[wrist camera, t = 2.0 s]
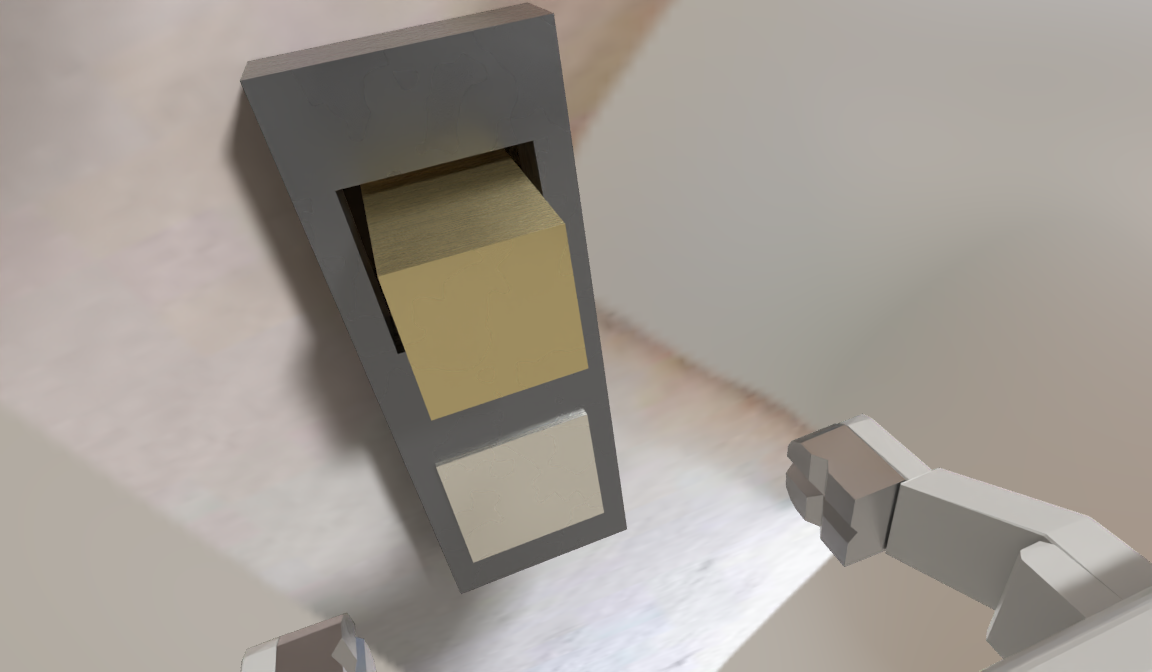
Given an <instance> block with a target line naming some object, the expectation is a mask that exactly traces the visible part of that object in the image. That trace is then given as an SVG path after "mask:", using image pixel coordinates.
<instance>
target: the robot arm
mask: <svg viewBox="0 0 1152 672" xmlns="http://www.w3.org/2000/svg"><path fill="white" fill-rule="evenodd" d="M787 457H788V458H789V459H790V460H791V461H792V462H793V464H792V465H791V466H790V468H789V469H788V471H787V472H786V488H787V491H788V494H789V497H790V500H791V501H792V503H793V505H794V506H795V508H796V510H797V511H798V512H799V514H800V515H801V516H802V517H803V519H804V520H805V521H808V522H810V523H813V524H815V525H818V526H820V539H821V540H822V541H823V542H824V544H825V545H826V546H827V547H828V548H829V550H830V551H831V552H832V553H833V554H834V555H835V557H836V558H837V559H838V560H839V561H840V563H841V564H842V565H843V566H844V567H846V566H848V565H851V564H853V563H856V562H858V561H861V560H863V559H866V558H868V557H871V556H873V555H876V554H878V553H881V552H883V551H886V552H885V553H886V554H888V555H890V556H892V557H894V558H895V559H897V560H899V561H901V562H903V563H905V564H907V565H909V566H911V567H913V568H914V569H916V570H918V571H920V572H922V573H924V574H926V575H928V576H930V577H932V578H934V579H936V580H938V581H940V582H941V583H944V584H945V585H947V586H949V587H951V588H953V589H955V590H957V591H959V592H961V593H963V594H965V595H967V596H968V597H970V598H972V599H974V600H976V601H978V602H980V603H982V604H984V605H986V606H988V607H990V608H992V609H993V610H995V613H994V615H993V618H992V620H991V623H990V625H989V627H988V630H987V638H986V641H987V642H988V643H989V644H990V645H991V646H992V647H993V648H994V649H995V651H996V652H998V654H999V655H1000V656H1001V657H1002V658H1003V660H1001V661H999V662H997V663H995V664H993V665H990V666H989V667H986V668H985V669H982V670H980V671H979V672H1152V563H1151V562H1150V561H1148V560H1147V559H1146V558H1144V557H1143V556H1142V555H1140V554H1139V553H1138V552H1136V551H1135V550H1134V549H1132V548H1131V547H1130V546H1128V545H1127V544H1126V543H1124V542H1123V541H1122V540H1120V539H1119V538H1118V537H1116V536H1115V535H1114V534H1112V533H1111V532H1110V531H1109V530H1107V529H1106V528H1104V527H1103V526H1102V525H1101V524H1099V523H1098V522H1097V521H1095V520H1094V519H1092V518H1091V517H1090V516H1087V515H1084V514H1081V513H1077V512H1075V511H1071V510H1068V509H1065V508H1062V507H1059V506H1056V505H1053V504H1050V503H1047V502H1044V501H1041V500H1037V499H1034V498H1031V497H1028V496H1025V495H1022V494H1019V493H1016V492H1013V491H1010V490H1007V489H1004V488H1001V487H998V486H994V485H991V484H988V483H985V482H982V481H979V480H976V479H973V478H970V477H966V476H964V475H961V474H957V473H954V472H951V471H948V470H945V469H942V468H936V469H934V470H931V469H930V468H929V467H928V466H927V465H926V464H924V463H923V462H922V461H921V460H920V459H919V458H917V457H916V456H915V455H914V454H913V453H912V452H911V451H909V450H908V449H907V448H906V447H905V446H903V445H902V444H901V443H900V442H899V441H898V440H897V439H895V438H894V437H893V436H892V435H891V434H890V433H888V432H887V431H886V430H885V429H884V428H882V427H881V426H880V425H879V424H878V423H877V422H876V421H874V420H873V419H872V418H871V417H869V416H867V415H864V414H861V415H858V416H855V417H853V418H850V419H848V420H845V421H843V422H840V423H838V424H833V425H830V426H828V427H825V428H823V429H820V430H818V431H815V432H813V433H810V434H808V435H805V436H803V437H800V438H798V439H795V440H793V441H791V443H790V444H789V446H788V452H787ZM241 672H376V667H375V663H374V659H373V656H372V654H371V651H370V649H369V647H368V645H367V643H366V641H365V640H364V639H362V638H359V637H355V624H354V622H353V621H352V619H351V618H350V616H349V615H348V613H345V614H342V615H339V616H336V617H333V618H331V619H328V620H325V621H322V622H319V623H317V624H314V625H311V626H308V627H305V628H303V629H300V630H297V631H294V632H291V633H288V634H286V635H283V636H280V637H277V638H275V639H272V640H269V641H267V642H264V643H261V644H259V645H256V646H254V647H251V648H248V649H247V650H246V652H245V655H244V657H243V660H242V664H241Z"/></svg>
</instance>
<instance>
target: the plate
mask: <svg viewBox="0 0 1152 672" xmlns="http://www.w3.org/2000/svg"><path fill="white" fill-rule="evenodd" d="M240 82H241V84H242V87H243V89H244V91H245V94H246V96H247V98H248V101H249V103H250V105H251V107H252V110H253V112H254V114H255V117H256V119H257V121H258V124H259V126H260V128H261V131H262V133H263V135H264V138H265V140H266V142H267V145H268V147H269V149H270V152H271V154H272V156H273V159H274V161H275V163H276V166H277V168H278V170H279V173H280V175H281V177H282V179H283V182H284V184H285V186H286V189H287V191H288V193H289V196H290V198H291V200H292V203H293V205H294V207H295V210H296V212H297V214H298V217H299V219H300V221H301V224H302V226H303V228H304V231H305V233H306V235H307V238H308V240H309V242H310V244H311V247H312V249H313V251H314V254H315V256H316V258H317V261H318V263H319V265H320V268H321V270H322V272H323V275H324V277H325V279H326V282H327V284H328V286H329V289H330V291H331V293H332V296H333V298H334V300H335V303H336V305H337V307H338V309H339V312H340V314H341V316H342V319H343V321H344V323H345V326H346V328H347V330H348V333H349V335H350V337H351V340H352V342H353V344H354V347H355V349H356V351H357V354H358V356H359V358H360V361H361V363H362V365H363V368H364V370H365V372H366V374H367V377H368V379H369V381H370V384H371V386H372V388H373V391H374V393H375V395H376V398H377V400H378V402H379V405H380V407H381V409H382V412H383V414H384V416H385V419H386V421H387V423H388V426H389V428H390V430H391V433H392V435H393V437H394V440H395V442H396V444H397V446H398V449H399V451H400V453H401V456H402V458H403V460H404V463H405V465H406V467H407V470H408V472H409V474H410V477H411V479H412V481H413V484H414V486H415V488H416V491H417V493H418V495H419V498H420V500H421V502H422V505H423V507H424V509H425V511H426V514H427V516H428V518H429V521H430V523H431V525H432V528H433V530H434V532H435V535H436V537H437V539H438V542H439V544H440V546H441V549H442V551H443V553H444V556H445V558H446V560H447V563H448V565H449V567H450V570H451V572H452V574H453V576H454V579H455V581H456V583H457V586H458V588H459V590H460V593H461V594H462V593H465V592H468V591H470V590H473V589H475V588H478V587H480V586H483V585H485V584H488V583H491V582H493V581H496V580H498V579H501V578H503V577H506V576H509V575H511V574H514V573H516V572H519V571H521V570H524V569H526V568H529V567H532V566H534V565H537V564H539V563H542V562H544V561H547V560H549V559H552V558H555V557H557V556H560V555H562V554H565V553H567V552H570V551H572V550H575V549H578V548H580V547H583V546H585V545H588V544H590V543H593V542H596V541H598V540H601V539H603V538H606V537H608V536H611V535H613V534H616V533H619V532H621V531H624V530H626V529H627V526H626V519H625V512H624V505H623V498H622V491H621V484H620V477H619V470H618V463H617V456H616V449H615V442H614V434H613V427H612V420H611V413H610V406H609V399H608V392H607V385H606V378H605V371H604V364H603V357H602V350H601V343H600V336H599V329H598V322H597V315H596V308H595V301H594V294H593V287H592V280H591V273H590V266H589V258H588V252H587V244H586V237H585V231H584V223H583V216H582V209H581V202H580V195H579V188H578V182H577V174H576V167H575V160H574V153H573V146H572V139H571V132H570V125H569V118H568V111H567V104H566V97H565V90H564V82H563V75H562V68H561V61H560V54H559V47H558V40H557V33H556V26H555V19H554V13H552V12H549V11H547V10H544V9H542V8H540V7H537V6H535V5H532V4H530V3H524V4H520V5H515V6H510V7H505V8H501V9H496V10H491V11H486V12H482V13H477V14H472V15H467V16H463V17H458V18H453V19H448V20H443V21H439V22H434V23H429V24H424V25H420V26H415V27H410V28H405V29H401V30H396V31H391V32H386V33H382V34H377V35H372V36H367V37H363V38H358V39H353V40H348V41H343V42H339V43H334V44H329V45H324V46H320V47H315V48H310V49H305V50H301V51H296V52H291V53H286V54H282V55H277V56H272V57H267V58H262V59H258V60H253V61H248V62H247V65H246V67H245V70H244V72H243V75H242V77H241V79H240ZM513 145H517V149H518V154H519V159H520V164H521V169H522V172H523V173H524V174H525V175H526V177H527V178H528V179H529V180H530V181H531V183H532V184H533V185H534V186H535V188H536V189H537V190H538V191H539V192H540V194H541V195H542V196H543V197H544V199H545V200H546V201H547V202H548V203H549V205H550V206H551V207H552V208H553V209H554V211H555V212H556V213H557V214H558V216H559V217H560V218H561V219H562V220H563V222H564V223H565V226H566V232H567V239H568V245H569V251H570V257H571V263H572V269H573V276H574V282H575V288H576V294H577V300H578V307H579V313H580V319H581V325H582V331H583V338H584V344H585V350H586V356H587V362H588V369H585V370H582V371H579V372H576V373H573V374H570V375H567V376H564V377H561V378H558V379H555V380H552V381H549V382H546V383H543V384H540V385H537V386H534V387H531V388H528V389H525V390H522V391H519V392H516V393H513V394H510V395H507V396H504V397H501V398H498V399H495V400H492V401H489V402H486V403H483V404H480V405H477V406H474V407H471V408H468V409H465V410H462V411H459V412H456V413H453V414H450V415H447V416H444V417H441V418H438V419H435V420H432V421H431V418H430V415H429V413H428V410H427V407H426V405H425V402H424V399H423V397H422V394H421V391H420V389H419V386H418V383H417V381H416V378H415V375H414V373H413V370H412V367H411V365H410V362H409V359H408V357H407V354H406V351H405V349H404V346H403V343H402V341H401V338H400V335H399V333H398V330H397V327H396V325H395V322H394V319H393V317H392V315H391V316H390V315H389V312H388V309H387V307H386V304H385V301H384V299H383V296H382V293H381V291H380V288H379V285H378V283H377V280H376V277H375V275H374V272H373V269H372V267H371V264H370V261H369V259H368V256H367V253H366V251H365V248H364V245H363V243H362V240H361V237H360V235H359V232H358V229H357V227H356V224H355V221H354V219H353V216H352V213H351V211H350V208H349V205H348V203H347V200H346V197H345V195H344V192H343V189H344V188H348V187H352V186H356V185H360V184H364V183H368V182H372V181H376V180H380V179H384V178H387V177H391V176H395V175H399V174H403V173H407V172H411V171H415V170H419V169H423V168H427V167H431V166H435V165H439V164H442V163H446V162H450V161H454V160H458V159H462V158H466V157H470V156H474V155H478V154H482V153H486V152H490V151H494V150H497V149H501V148H505V147H509V146H513Z"/></svg>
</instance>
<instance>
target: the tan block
mask: <svg viewBox="0 0 1152 672" xmlns="http://www.w3.org/2000/svg"><path fill="white" fill-rule="evenodd" d="M360 185H361V191H362V196H363V201H364V207H365V212H366V217H367V223H368V228H369V234H370V239H371V244H372V250H373V255H374V260H375V266H376V271H377V276H378V279H379V282H380V285H381V287H382V290H383V293H384V295H385V298H386V301H387V303H388V306H389V309H390V311H391V314H392V317H393V319H394V322H395V325H396V327H397V330H398V333H399V335H400V338H401V341H402V343H403V346H404V349H405V351H406V354H407V357H408V359H409V362H410V365H411V367H412V370H413V373H414V375H415V378H416V381H417V383H418V386H419V389H420V391H421V394H422V397H423V399H424V402H425V405H426V407H427V410H428V413H429V415H430V418H431V421H432V420H435V419H438V418H441V417H444V416H447V415H450V414H453V413H456V412H459V411H462V410H465V409H468V408H471V407H474V406H477V405H480V404H483V403H486V402H489V401H492V400H495V399H498V398H501V397H504V396H507V395H510V394H513V393H516V392H519V391H522V390H525V389H528V388H531V387H534V386H537V385H540V384H543V383H546V382H549V381H552V380H555V379H558V378H561V377H564V376H567V375H570V374H573V373H576V372H579V371H582V370H585V369H588V362H587V356H586V350H585V344H584V338H583V331H582V325H581V319H580V313H579V307H578V300H577V294H576V288H575V282H574V276H573V269H572V263H571V257H570V251H569V245H568V239H567V232H566V226H565V223H564V222H563V220H562V219H561V218H560V217H559V216H558V214H557V213H556V212H555V211H554V209H553V208H552V207H551V206H550V205H549V203H548V202H547V201H546V200H545V199H544V197H543V196H542V195H541V194H540V192H539V191H538V190H537V189H536V188H535V186H534V185H533V184H532V183H531V181H530V180H529V179H528V178H527V177H526V175H525V174H524V173H523V172H522V171H521V169H520V168H519V167H518V166H517V164H516V163H515V162H514V161H513V160H512V158H511V157H510V156H509V155H508V153H507V152H506V151H505V150H504V149H503V148H501V149H497V150H494V151H490V152H486V153H482V154H478V155H474V156H470V157H466V158H462V159H458V160H454V161H450V162H446V163H442V164H439V165H435V166H431V167H427V168H423V169H419V170H415V171H411V172H407V173H403V174H399V175H395V176H391V177H387V178H384V179H380V180H376V181H372V182H368V183H364V184H360Z"/></svg>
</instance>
